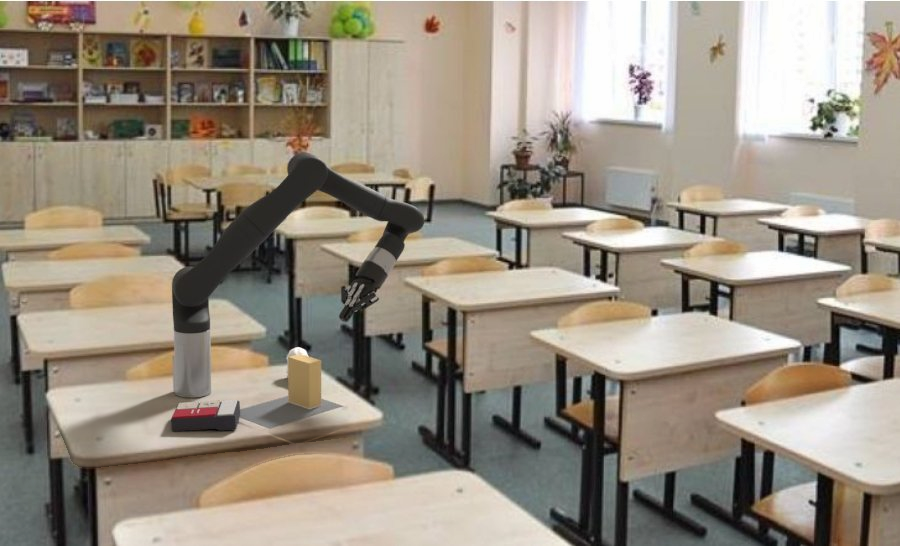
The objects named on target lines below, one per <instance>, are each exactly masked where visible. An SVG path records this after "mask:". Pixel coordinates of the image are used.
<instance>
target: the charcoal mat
mask: <svg viewBox="0 0 900 546" xmlns="http://www.w3.org/2000/svg"><path fill="white" fill-rule="evenodd" d="M342 407H343V405H342V404H339V403H335V402H333V401H330V400H327V399H324V398H321V406H319V407H316V408H312V409H307V408H304V407H301V406H298V405H295V404H292V403H290V402H288V395H286V396H283V397H279V398H276V399H272V400H268V401H264V402H262V403H261V402H260V403H258V404H254V405H251V406H247V407H244V408H240V417H239V419H240V418H241V419H243V420H246V421H249V422H250V423H254V424H257V425H259V426H262V427H265V428H266V429H267V428H268V429H273V428H276V427H279V426H283V425H286V424H290V423H293V422H296V421H299V420H303V419H306V418H309V417H312V416H315V415H319V414H322V413H326V412H329V411H331V410H335V409H339V408H342Z"/></svg>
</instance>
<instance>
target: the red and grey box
mask: <svg viewBox="0 0 900 546" xmlns="http://www.w3.org/2000/svg"><path fill="white" fill-rule="evenodd" d="M240 406H241V405H240V400H237V399H229V400H227V399H226V400H222V401H221V400H220V399H219V400H204V401H202V400H201V401H187V402H179V403H178V404H177V406H176V407H175V410H174V412H173V414H172V416H171V418H170V426H171V432H183V431H186V432H187V431H197V430H198V431H199V430H215V429H217V430H219V431H220V432H221V431H234V430H236V429H237V427H238V424H239V421H240V409H241V407H240Z"/></svg>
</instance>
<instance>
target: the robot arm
mask: <svg viewBox="0 0 900 546" xmlns="http://www.w3.org/2000/svg"><path fill="white" fill-rule="evenodd" d="M286 170H287V176H286V177H285V178H284V179H283V180H282V181H281V182H280V184H279V185H278V186H277V187H276V188H275V189H274V190H272V191H271V192H269V193H268V194H266V195H264V196H263V197H260V199H259V198H258V200H256V201H254V202H253V203H251V204H250V205H248V206H247V207H246V208H245V209H244V210H242V211H241V213H239V214H238V215H237V216H236V217H235V218H234V219H233V221H231V222H230V224H229V225H227V226H226V228H225V230H224V231H223V232H222V234H221V235H220V237H219V238H218V240H216V243H215V244H214V246H213V247H212V248H211V250H210V251H209V253H207V254H206V255H205V257H204V258H202V259H201V260H200V261H198V263H197V264H195V265H194V266H185V267H182V268H180V269H179V270H177V272H175V274H174V275H173V278H172V282H171V297H172V298H171V299H172V300H171V301H172V321H173V348H174V349H173V350H174V351H173V353H174V354H173V356H172V382H173V383H172V384H173V386H172V388H173V392H174V394H175V395H176V396H178V397H180V398H200V397H201V398H202V397H205V396H208V395H210V394H211V393H212V355H211V353H212V351H211V348H212V347H211V346H212V345H211V316H210V306H209V305H210V303H209V302H210V301H209V300H210V299H209V298H210V297H211V295H212V294H213V293H214V291H215V290H216V289H217V288H218V286H219V285H220V284H221V283H222V282H223V280H225V278H226V277H227V276H228V275H229V274H230V273H231V272H232V271H233V270H234V269H235V268H236V267H237V266H239V265H240V264H241V263H242V262H243V261H244V260H246V259H247V258H248V257H249V256H250V255H251V254H252V253H253V252H254V251H255V250H257V248H259V246H260V245H261V244H263V243H264V242H265V241H266V240H267V238H269V236H270V235H271V234H273V232H274V231H275V230H276V229H277V228H278V227H280V225H281V224H282V223H283V222H284V221H285V220H286V219H287V218H288V216H289V215H291V213H292V212H294V210H295V209H296V208H297V207H299V206H300V205H301V204H302V203H303V202H304V201H306V200H307V199H308V198H309V197H310V196H312V195H314V193H316V192H317V191H319V192H322V193H324V194H326V195H329V196H331V197H333V198H335V199H337V200H339V201H340V202H341V203H343V204H345V205H347V206H348V207H350V208H351V209H353V210H355V211H357V212H359V213H361V214H363V215H364V216H367V217H369V218H371V219H373V220H375V221H378V222H387V223H386V225H385V228H384V230H383V233H382V235H381V237H380V238H379V239H378V241H377V243H376V245H375V246H374V247H373V249H372V250H371V251H370V252H369V253H368V254H367V256H366V258H365V259H364V261H363V263H362V264H361V265H360V267H359V268H358V270H357V271H356V273H355V279H354V280H353V281H352V282H351V283H350V285H348V286H345V285H342V286H341V287H340V294H341V295H340V297H341V299H340V301H341V303H342V304H343V305H344V307H343V308H342V310H341V312H340V313H339V315H338V318H339V320H340V321H341V322H344V323H348V322H349V321H350V320H351V318H352V316H353V315H354V314H355V312H358V311H360V312H363V311H364V310H366V309H368V308H370V307H371V306H372V305H374V304H375V303H377V302H379V300H380V299H379V296H378V295H377V291H378V290H380V289H381V288H382V286H383V284H384V283H385V281H386V280H387V279H388V277H389V275H390V273H391V272H392V270H393V268H394V266H395V264H396V262H397V261H398V260H399V258H400V257H401V256H402V255H401V254H402V253H403V251H405V240H406V239H407V238H408V235H411V234H413V233H417V232H418V231H420V230H422V228H423V227H424V225H425V217H424V213H422V211H421V210H420V209H419V208H417V207H416V206H414V205H412V204H409V203H407V202H403V201H400V200H397V199H393V198H390V197H388V196H387V195H384V194H382V193H380V192H379V191H377V190H374V189H372V188H371V187H369V186H366V185H364V184H361V183H359V182H357V181H354V180H352V179H350V178H348V177H346V176H344V175H342V174H340V173H338V172H336V171H335V170H333V169H331V167H329V166H327V164H326V163H325V162H324V161H323V159H322V158H320V157H318V156H317V155H314V154H312V153H308V152H299V153H297V154H295V155H294V156H292V157H291V158H290V160H289V161H288V163H287V168H286Z"/></svg>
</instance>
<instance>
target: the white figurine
mask: <svg viewBox="0 0 900 546" xmlns="http://www.w3.org/2000/svg"><path fill="white" fill-rule="evenodd" d="M299 354H302V355H305V356H308V357H310V356H309V355H308V352H307V350H306V349H304V348H302V347H299V346H297V347H294V348H292V349H290V350H289V351H288V354H287V355H286V361H287V363H288V357H291V356H295V355H299ZM286 374H287V375H286V378H287V379H288V365H287V367H286Z"/></svg>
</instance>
